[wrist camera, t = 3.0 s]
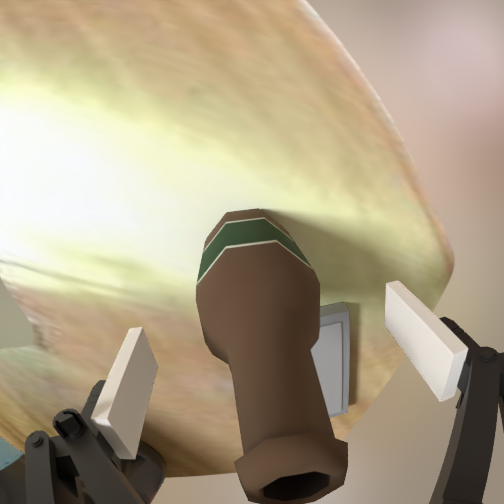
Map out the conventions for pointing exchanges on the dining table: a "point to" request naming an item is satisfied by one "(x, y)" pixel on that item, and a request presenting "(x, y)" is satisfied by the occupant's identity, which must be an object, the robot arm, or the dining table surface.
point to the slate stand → (333, 357)
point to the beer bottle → (270, 357)
